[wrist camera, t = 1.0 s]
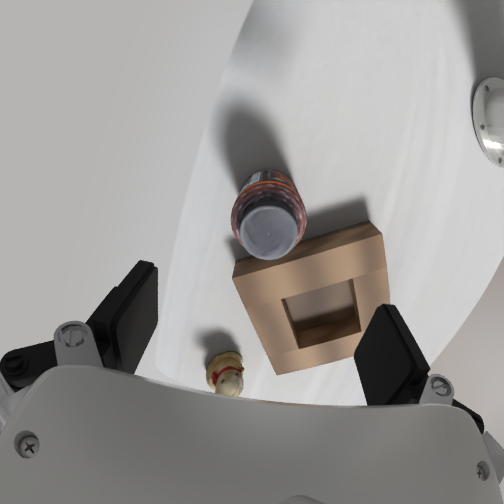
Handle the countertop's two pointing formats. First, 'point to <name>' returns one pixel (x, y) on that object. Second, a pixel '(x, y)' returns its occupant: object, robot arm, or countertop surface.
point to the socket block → (315, 296)
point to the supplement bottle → (268, 215)
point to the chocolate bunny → (226, 374)
